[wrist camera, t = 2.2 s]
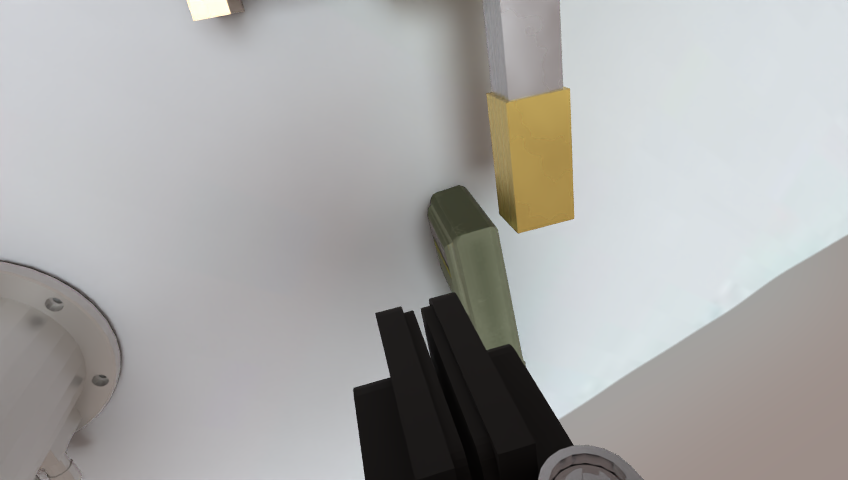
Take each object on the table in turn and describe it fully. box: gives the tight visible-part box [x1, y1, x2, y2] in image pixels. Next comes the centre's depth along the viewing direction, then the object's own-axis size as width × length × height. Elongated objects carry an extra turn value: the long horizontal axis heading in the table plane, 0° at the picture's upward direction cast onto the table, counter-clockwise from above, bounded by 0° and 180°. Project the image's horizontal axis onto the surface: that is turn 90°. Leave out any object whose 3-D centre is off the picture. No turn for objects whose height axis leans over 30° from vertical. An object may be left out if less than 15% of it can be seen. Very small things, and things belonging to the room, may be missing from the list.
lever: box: [483, 0, 574, 233], centre depth 21 cm, size 16×4×2 cm, turn 10°
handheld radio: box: [428, 185, 526, 367], centre depth 34 cm, size 7×3×25 cm
